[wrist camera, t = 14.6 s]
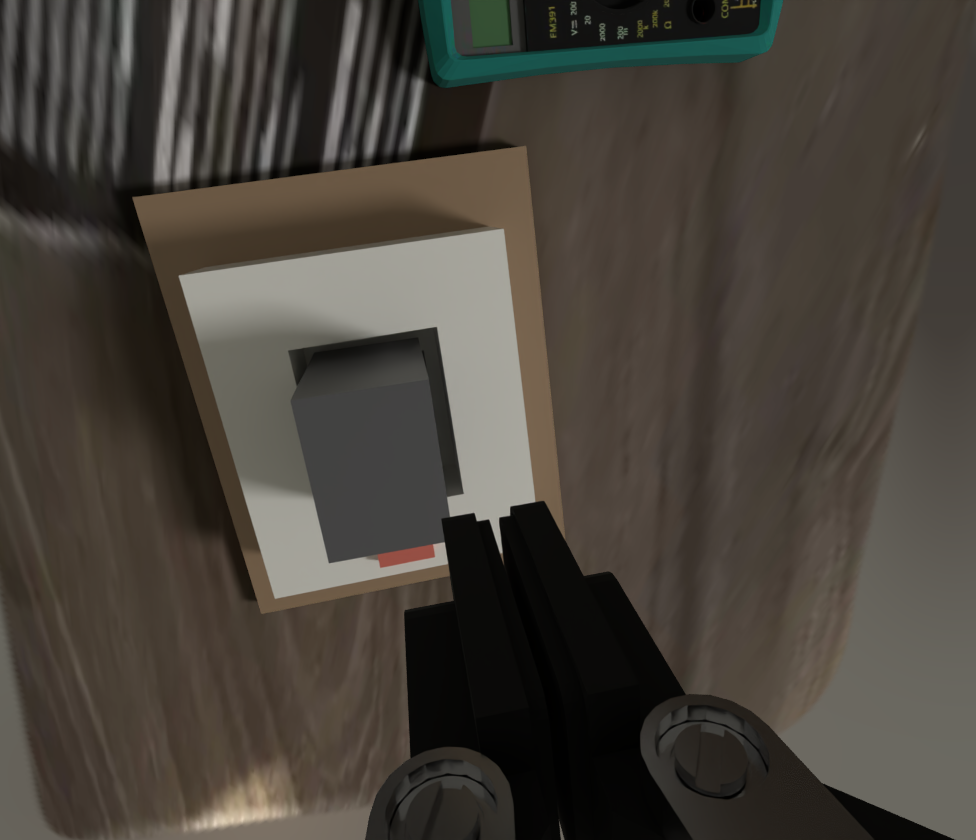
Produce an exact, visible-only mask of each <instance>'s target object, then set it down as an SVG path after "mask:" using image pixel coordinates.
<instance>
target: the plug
mask: <svg viewBox="0 0 976 840" xmlns="http://www.w3.org/2000/svg"><path fill="white" fill-rule="evenodd" d="M290 402H291V406H292V410H293V414H294V418H295V423H296V427H297V431H298V435H299V439H300V444H301V448H302V452H303V456H304V461H305V465H306V469H307V473H308V477H309V482H310V486H311V490H312V494H313V499H314V503H315V507H316V511H317V515H318V520H319V524H320V528H321V532H322V536H323V541H324V545H325V549H326V553H327V558H328V562H329V563H334V562H340V561H345V560H351V559H356V558H362V557H367V556H372V555H378V554H383V553H389V552H394V551H400V550H405V549H410V548H416V547H421V546H427V545H432V544H438V543H443V542H445V541H444V535H443V528H442V522H441V518H447V517H450V513H449V507H448V500H447V494H446V487H445V481H444V474H443V468H442V461H441V455H440V448H439V442H438V435H437V429H436V422H435V416H434V409H433V402H432V396H431V389H430V383H429V378H428V374H427V370H426V366H425V362H424V358H423V354H422V350H421V346H420V343H419V339H418V337H417V338H410V339H403V340H396V341H389V342H383V343H376V344H369V345H362V346H355V347H348V348H342V349H335V350H328V351H321V352H314V354H313V356H312V358H311V360H310V362H309V364H308V366H307V368H306V370H305V372H304V374H303V376H302V378H301V380H300V382H299V384H298V386H297V388H296V390H295V392H294V394H293V396H292V398H291V400H290Z"/></svg>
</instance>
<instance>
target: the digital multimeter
mask: <svg viewBox="0 0 976 840" xmlns="http://www.w3.org/2000/svg"><path fill="white" fill-rule="evenodd" d="M647 2H648V3H647ZM418 3H419V10H420V16H421V22H422V28H423V34H424V40H425V45H426V50H427V55H428V60H429V65H430V71H431V75H432V78H433V81H434V82H435V83H436V84H437V85H438V86H439V87H443V88H449V87H456V86H463V85H470V84H477V83H484V82H492V81H499V80H506V79H513V78H520V77H527V76H535V75H543V74H553V73H563V72H573V71H583V70H593V69H603V68H613V67H632V66H650V65H669V64H693V63H733V62H742V61H744V60H747V59H749V58H752V57H754V56H757V55H759V54H762V53H764V52H767V51H768V50H769V49H770V47H771V46H772V43H773V40H774V36H775V32H776V28H777V24H778V20H779V16H780V12H781V7H782V3H783V0H418ZM646 3H647V4H646ZM639 8H640V9H639ZM637 9H638V10H637ZM604 11H605V12H604ZM630 12H631V13H630ZM611 13H612V14H611ZM738 34H742V35H738ZM726 35H730V36H726ZM714 36H718V37H714ZM701 37H706V38H701ZM689 38H694V39H689ZM677 39H681V40H677ZM664 40H668V41H664ZM652 41H655V42H652ZM640 42H642V43H640ZM628 43H629V44H628ZM615 44H617V45H615ZM603 45H605V46H603ZM591 46H593V47H591ZM578 47H581V48H578ZM566 48H569V49H566ZM554 49H557V50H554ZM541 50H544V51H541ZM529 51H531V52H529Z"/></svg>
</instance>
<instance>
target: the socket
mask: <svg viewBox="0 0 976 840" xmlns="http://www.w3.org/2000/svg"><path fill="white" fill-rule="evenodd" d="M132 198H133V201H134V205H135V208H136V211H137V214H138V218H139V221H140V224H141V227H142V230H143V234H144V237H145V240H146V243H147V247H148V250H149V253H150V256H151V259H152V263H153V266H154V269H155V272H156V276H157V279H158V282H159V285H160V288H161V292H162V295H163V298H164V301H165V305H166V308H167V311H168V314H169V317H170V321H171V324H172V327H173V330H174V334H175V337H176V340H177V343H178V346H179V350H180V353H181V356H182V359H183V363H184V366H185V369H186V372H187V375H188V379H189V382H190V385H191V388H192V392H193V395H194V398H195V401H196V404H197V408H198V411H199V414H200V417H201V421H202V424H203V427H204V430H205V433H206V437H207V440H208V443H209V446H210V450H211V453H212V456H213V459H214V462H215V466H216V469H217V472H218V475H219V479H220V482H221V485H222V488H223V491H224V495H225V498H226V501H227V504H228V508H229V511H230V514H231V517H232V520H233V524H234V527H235V530H236V533H237V537H238V540H239V543H240V546H241V550H242V553H243V556H244V559H245V562H246V566H247V569H248V572H249V575H250V579H251V582H252V585H253V588H254V591H255V595H256V598H257V601H258V604H259V608H260V611H261V614H264V613H269V612H274V611H279V610H284V609H289V608H294V607H299V606H303V605H308V604H313V603H318V602H323V601H328V600H333V599H338V598H343V597H348V596H353V595H357V594H362V593H367V592H372V591H377V590H382V589H387V588H392V587H397V586H402V585H407V584H412V583H416V582H421V581H426V580H431V579H436V578H441V577H446V576H450V573H449V567H448V560H447V554H446V547H445V542H443V543H438V544H432V545H427V546H421V547H416V548H410V549H405V550H400V551H394V552H389V553H383V554H378V555H372V556H367V557H362V558H356V559H351V560H345V561H340V562H334V563H329V562H328V558H327V553H326V549H325V545H324V541H323V536H322V532H321V528H320V524H319V520H318V515H317V511H316V507H315V503H314V499H313V494H312V490H311V486H310V482H309V477H308V473H307V469H306V465H305V461H304V456H303V452H302V448H301V444H300V439H299V435H298V431H297V427H296V423H295V418H294V414H293V410H292V406H291V402H290V400H291V398H292V396H293V394H294V392H295V390H296V388H297V386H298V384H299V382H300V380H301V378H302V376H303V374H304V372H305V370H306V368H307V366H308V364H309V362H310V360H311V358H312V356H313V354H314V352H321V351H328V350H335V349H342V348H348V347H355V346H362V345H369V344H376V343H383V342H389V341H396V340H403V339H410V338H417V337H418V339H419V343H420V346H421V350H422V354H423V358H424V362H425V366H426V370H427V374H428V378H429V383H430V389H431V396H432V402H433V409H434V416H435V422H436V429H437V435H438V442H439V448H440V455H441V461H442V468H443V474H444V481H445V487H446V494H447V500H448V507H449V513H450V517H453V516H458V515H464V514H470V513H475V516H476V520H477V521H482V520H487V519H489V520H490V523H491V526H492V529H493V533H494V536H495V539H496V542H497V545H498V548H499V551H500V555H501V558H502V561H503V553H502V544H501V535H500V527H499V517H504V516H510V507H511V506H515V505H521V504H527V503H533V502H538V501H545V503H546V504H547V506H548V508H549V510H550V512H551V514H552V516H553V518H554V520H555V522H556V524H557V526H558V528H559V530H560V531H561V533H562V535H563V537H564V539H565V532H564V522H563V512H562V502H561V492H560V482H559V472H558V461H557V451H556V441H555V431H554V421H553V411H552V401H551V391H550V381H549V371H548V361H547V351H546V341H545V331H544V321H543V311H542V301H541V291H540V281H539V271H538V261H537V251H536V241H535V231H534V221H533V211H532V200H531V190H530V180H529V170H528V160H527V150H526V146H522V147H514V148H506V149H499V150H491V151H483V152H476V153H468V154H461V155H453V156H445V157H438V158H430V159H422V160H415V161H407V162H399V163H392V164H384V165H376V166H369V167H361V168H353V169H346V170H338V171H331V172H323V173H315V174H308V175H300V176H292V177H285V178H277V179H269V180H262V181H254V182H246V183H239V184H231V185H223V186H216V187H208V188H201V189H193V190H185V191H178V192H170V193H162V194H155V195H147V196H139V197H132ZM503 564H504V561H503Z"/></svg>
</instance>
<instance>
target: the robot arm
mask: <svg viewBox="0 0 976 840" xmlns="http://www.w3.org/2000/svg"><path fill="white" fill-rule="evenodd" d="M441 522H442V528H443V535H444V541H445V547H446V554H447V560H448V567H449V573H450V579H451V586H452V592H453V599H454V601H451V602H445V603H440V604H435V605H430V606H424V607H419V608H414V609H408V610H405V612H404V621H405V643H406V666H407V688H408V711H409V733H410V756H411V759H409V760H407V761H405V762H404V763H403V764H402V765H401V766H400V767H398V768H397V769H396V770H395V771H394V772H393V773H392V774H390V775H389V777H388V778H387V780H386V781H385V783H384V784H383V785H382V787H381V788H380V790H379V791H378V793H377V795H376V798H375V801H374V803H373V806H372V809H371V812H370V816H369V821H368V827H367V832H366V838H365V840H561V837H560V826H559V821H560V825H561V828H562V832H563V835H564V839H565V840H954V839H952V838H950V837H947V836H945V835H943V834H940V833H938V832H936V831H933V830H931V829H928V828H926V827H924V826H921V825H919V824H917V823H914V822H912V821H910V820H907V819H905V818H902V817H900V816H898V815H896V814H893V813H891V812H889V811H886V810H884V809H882V808H879V807H877V806H874V805H872V804H869V803H867V802H865V801H863V800H860V799H858V798H856V797H853V796H851V795H849V794H846V793H844V792H842V791H839V790H837V789H834V788H832V787H830V786H827V785H825V784H823V783H821V782H820V781H819V780H818V779H817V777H816V776H815V775H814V774H813V773H812V772H811V771H810V770H809V769H808V768H807V767H806V766H805V765H804V763H803V762H802V761H801V760H800V759H799V758H798V757H797V756H796V755H795V754H794V753H793V752H792V751H791V750H790V749H789V747H788V746H786V744H785V743H784V742H783V741H782V740H781V739H780V738H779V737H778V735H777V734H776V733H775V732H774V731H773V730H772V729H771V728H770V727H769V726H768V725H767V724H766V723H765V722H763V721H762V720H761V719H760V718H759V717H758V716H756V715H755V714H754V713H753V712H752V711H750V710H748V709H746V708H744V707H742V706H740V705H738V704H737V703H735V702H733V701H730V700H727V699H723V698H719V697H716V696H712V695H698V694H688V695H686V694H685V692H684V691H683V689H682V687H681V686H680V684H679V682H678V681H677V679H676V677H675V676H674V674H673V672H672V671H671V669H670V667H669V666H668V664H667V662H666V661H665V659H664V657H663V656H662V654H661V652H660V651H659V649H658V647H657V646H656V644H655V642H654V641H653V639H652V637H651V636H650V634H649V632H648V631H647V629H646V627H645V626H644V624H643V622H642V621H641V619H640V617H639V616H638V614H637V612H636V611H635V609H634V607H633V606H632V604H631V602H630V601H629V599H628V597H627V596H626V594H625V592H624V591H623V589H622V587H621V586H620V584H619V582H618V581H617V579H616V578H615V576H614V575H613V574H612V573H611V572H603V573H598V574H593V575H587V576H583V574H582V572H581V570H580V568H579V566H578V564H577V562H576V560H575V559H574V557H573V555H572V553H571V551H570V549H569V547H568V545H567V543H566V541H565V539H564V537H563V535H562V533H561V531H560V530H559V528H558V526H557V524H556V522H555V520H554V518H553V516H552V514H551V512H550V510H549V508H548V506H547V504H546V503H545V501H538V502H533V503H527V504H521V505H515V506H511V507H510V516H504V517H499V527H500V535H501V544H502V553H503V561H504V564H503V561H502V558H501V555H500V551H499V548H498V545H497V542H496V539H495V536H494V533H493V529H492V526H491V523H490V520H489V519H487V520H482V521H477V520H476V516H475V513H470V514H464V515H458V516H453V517H447V518H441Z"/></svg>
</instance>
